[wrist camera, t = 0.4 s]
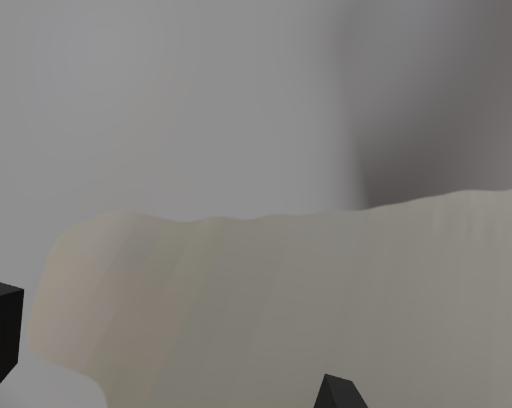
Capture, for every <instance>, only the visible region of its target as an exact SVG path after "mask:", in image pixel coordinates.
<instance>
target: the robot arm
mask: <svg viewBox="0 0 512 408" xmlns="http://www.w3.org/2000/svg"><path fill="white" fill-rule="evenodd" d="M23 298H24V289H22V288H18V287H15V286H11V285H7V284H4V283H0V383H1V382H2V381H3V380H4V378H5V377H6V376H7V375H8V374H9V372H10V371H11V370H12V369H13V368H14V367H15V365H16V364H17V363H18V353H19V341H20V331H21V320H22V309H23ZM314 408H368V407H367V405H366V403H365V402H364V400H363V398H362V397H361V395H360V394H359V392H358V390H357V389H356V387H355V385H354V384H353V382H352V381H349V380H346V379H342V378H339V377H335V376H332V375H328V374H325V375H324V378H323V381H322V384H321V387H320V390H319V393H318V396H317V399H316V402H315V405H314Z"/></svg>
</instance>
